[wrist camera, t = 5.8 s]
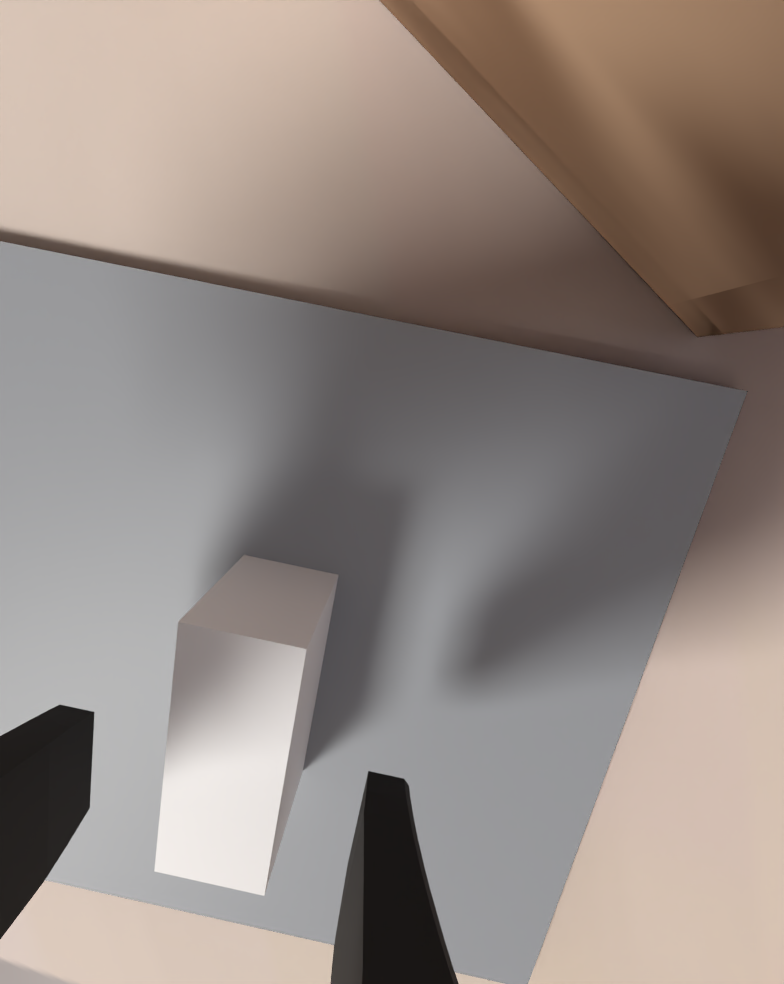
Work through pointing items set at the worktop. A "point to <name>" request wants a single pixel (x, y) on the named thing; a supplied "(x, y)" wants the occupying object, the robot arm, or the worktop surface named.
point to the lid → (329, 588)
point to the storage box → (643, 131)
